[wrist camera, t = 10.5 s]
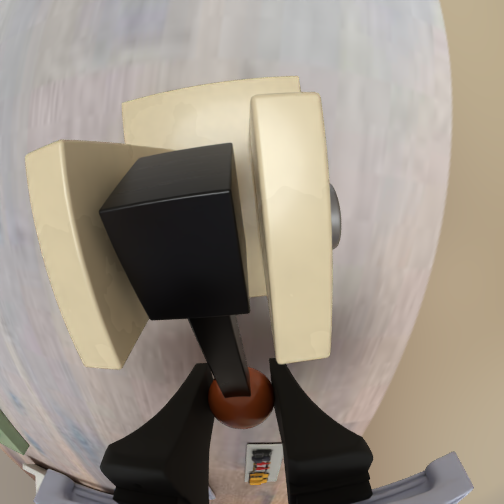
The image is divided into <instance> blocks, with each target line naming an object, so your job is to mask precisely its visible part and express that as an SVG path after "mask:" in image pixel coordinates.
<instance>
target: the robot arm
mask: <svg viewBox="0 0 504 504" xmlns="http://www.w3.org/2000/svg"><path fill="white" fill-rule="evenodd" d="M269 363H270V373H271V383H272V386H273V391H274V396H275V403H274V408H275V413H276V418H277V422H278V427H279V431H280V436H281V440H282V446H283V455H284V464H285V474H286V484H287V493H288V504H457V503H458V502H459V501H460V500H462V499H463V498H464V497H465V496H466V495H467V494H469V493H470V492H471V491H472V490H473V488H474V487H473V485H472V483H471V481H470V479H469V477H468V475H467V473H466V471H465V469H464V467H463V465H462V464H461V462H460V460H459V458H458V457H457V455H456V453H455V452H454V451H453V452H451V453H449V454H447V455H445V456H442V457H441V458H438V459H436V460H434V461H433V462H431V463H430V464H429V465H428V466H427V467H426V469H425V471H423V472H420V473H418V474H415V475H413V476H410V477H408V478H405V479H402V480H400V481H397V482H394V483H391V484H388V485H385V486H382V487H379V488H376V489H371V486H370V483H369V479H370V476H369V473H368V470H369V467H370V465H371V463H372V461H373V455H372V452H371V450H370V448H369V446H368V445H367V443H366V442H365V440H364V439H363V437H361V436H359V435H357V434H355V433H353V432H352V431H350V430H348V429H347V428H345V427H343V426H342V425H340V424H339V423H337V422H336V421H335V420H333V419H332V418H331V417H329V416H328V415H327V414H326V413H324V412H323V411H322V410H321V409H320V408H319V407H318V406H317V405H316V404H315V403H314V402H313V401H312V400H311V399H310V398H309V397H308V396H307V394H306V393H305V392H304V391H303V390H302V388H301V387H300V386H299V384H298V383H297V381H296V380H295V379H294V377H293V375H292V374H291V372H290V370H289V369H288V367H287V365H286V364H278V362H277V361H276V358H269ZM212 381H213V377H212V373H211V370H210V367H209V365H208V363H200V364H196V365H195V366H194V368H193V369H192V371H191V373H190V374H189V376H188V377H187V379H186V380H185V381H184V383H183V384H182V386H181V387H180V388H179V390H178V391H177V392H176V394H175V395H174V396H173V397H172V398H171V399H170V401H169V402H168V403H167V404H166V405H165V406H164V407H163V408H162V409H161V410H160V411H159V412H158V413H157V414H156V415H155V416H154V417H153V418H152V419H150V420H149V421H148V422H147V423H145V424H144V425H143V426H142V427H140V428H139V429H137V430H136V431H134V432H133V433H131V434H129V435H128V436H126V437H124V438H122V439H120V440H118V441H116V442H114V443H112V444H110V445H109V446H108V448H107V450H106V452H105V454H104V457H103V460H102V462H101V465H100V469H101V471H102V473H103V474H104V475H105V476H106V477H107V478H108V479H109V480H110V481H111V482H112V483H113V484H114V485H115V486H116V489H115V492H114V495H111V494H107V493H103V492H100V491H96V490H93V489H90V488H87V487H84V486H81V485H78V484H75V483H74V482H73V481H72V480H71V479H70V478H69V477H67V476H66V475H64V474H61V473H59V472H56V471H54V470H51V469H48V470H47V472H46V474H45V476H44V478H43V481H42V483H41V485H40V487H39V489H38V492H37V494H36V497H35V499H34V503H35V504H209V499H215V495H214V493H213V492H212V490H211V488H210V487H209V448H210V441H211V435H212V429H213V423H214V417H215V416H214V415H213V414H212V412H211V410H210V408H209V404H208V390H209V387H210V385H211V383H212Z"/></svg>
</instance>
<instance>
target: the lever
mask: <svg viewBox="0 0 504 504" xmlns="http://www.w3.org/2000/svg"><path fill="white" fill-rule="evenodd" d="M99 215H100V217H101V220H102V222H103V225H104V227H105V229H106V232H107V234H108V236H109V239H110V241H111V243H112V245H113V248H114V250H115V252H116V254H117V256H118V259H119V261H120V263H121V265H122V267H123V269H124V271H125V273H126V275H127V277H128V279H129V281H130V283H131V285H132V287H133V289H134V291H135V293H136V295H137V297H138V299H139V301H140V302H141V304H142V306H143V308H144V310H145V312H146V313H147V315H148V317H149V319H150V320H170V319H188V321H189V323H190V325H191V328H192V330H193V332H194V334H195V337H196V339H197V341H198V343H199V346H200V348H201V350H202V352H203V354H204V357H205V359H206V361H207V363H208V365H209V367H210V369H211V371H212V374H213V376H214V379H213V381H212V383H211V385H210V387H209V390H208V404H209V408H210V410H211V412H212V414H213V415H214V416H215V418H216V419H217V420H218V421H220V422H221V423H222V424H224V425H226V426H228V427H231V428H235V429H248V428H252V427H255V426H257V425H259V424H261V423H262V422H263V421H265V420H266V419H267V418H268V416H269V415H270V413H271V412H272V410H273V407H274V403H275V396H274V391H273V386H272V384H271V382H270V381H269V379H268V378H267V377H266V376H265V375H264V374H263V373H261V372H260V371H258V370H256V369H254V368H251V367H248V366H247V361H246V357H245V353H244V349H243V344H242V340H241V336H240V331H239V327H238V322H237V318H236V315H239V314H248V313H250V301H249V285H248V269H247V253H246V240H245V233H244V225H243V218H242V210H241V203H240V195H239V188H238V180H237V172H236V165H235V157H234V149H233V144H232V143H222V144H215V145H208V146H201V147H195V148H188V149H183V150H177V151H171V152H166V153H161V154H156V155H151V156H146V157H141V158H139V159H138V160H137V161H136V162H135V163H134V164H133V166H132V167H131V168H130V169H129V171H128V172H127V173H126V174H125V176H124V177H123V178H122V180H121V181H120V182H119V183H118V185H117V186H116V187H115V189H114V190H113V191H112V193H111V194H110V195H109V197H108V198H107V200H106V201H105V202H104V204H103V205H102V207H101V208H100V209H99Z"/></svg>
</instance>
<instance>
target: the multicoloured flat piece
mask: <svg viewBox="0 0 504 504" xmlns="http://www.w3.org/2000/svg"><path fill="white" fill-rule="evenodd" d="M282 459H283V446H282V444H247V454H246V469H245V482H249V483H250V485H261V483H266V482H268V481H276V480H277V476H278V473H279V469H280V466H281V462H282Z"/></svg>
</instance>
